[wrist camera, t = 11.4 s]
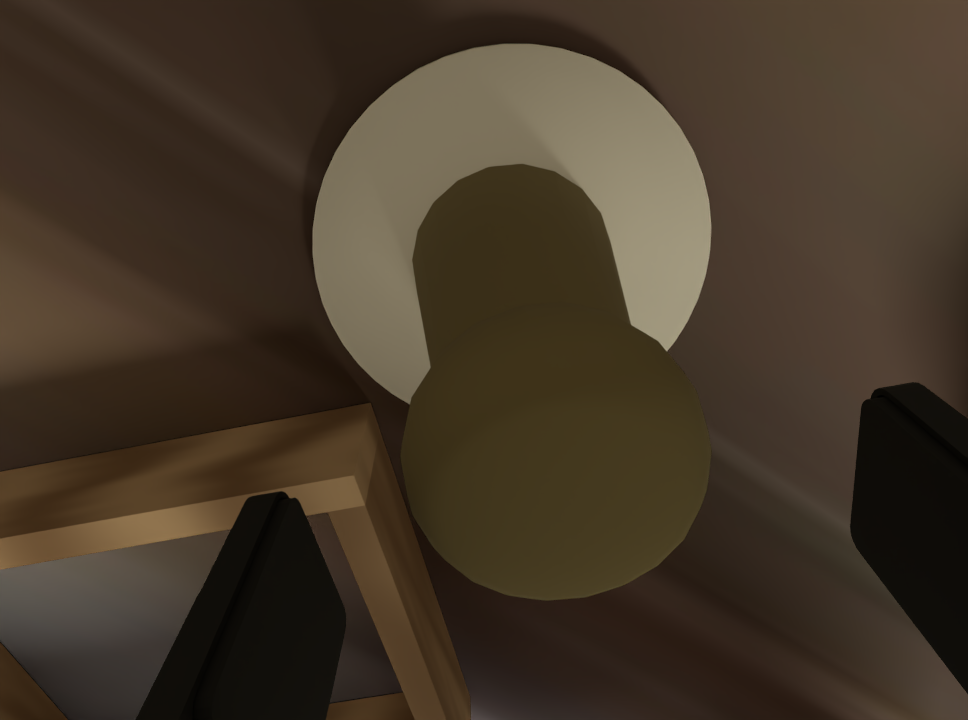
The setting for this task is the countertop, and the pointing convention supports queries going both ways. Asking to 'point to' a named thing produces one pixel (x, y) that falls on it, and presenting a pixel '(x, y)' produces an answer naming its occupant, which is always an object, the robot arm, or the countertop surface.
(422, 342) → the saucer
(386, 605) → the cold frame
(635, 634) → the countertop surface
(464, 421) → the cork
